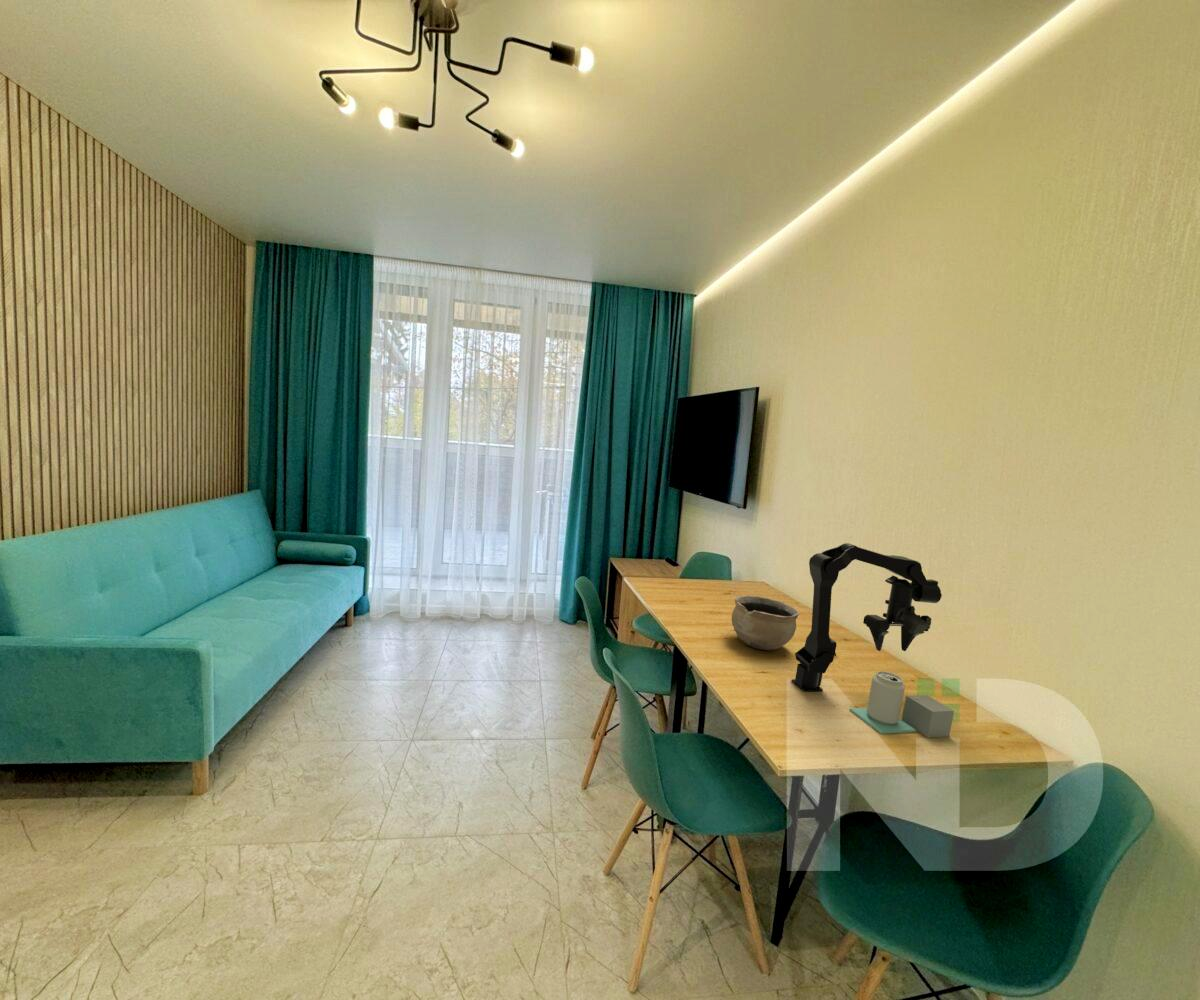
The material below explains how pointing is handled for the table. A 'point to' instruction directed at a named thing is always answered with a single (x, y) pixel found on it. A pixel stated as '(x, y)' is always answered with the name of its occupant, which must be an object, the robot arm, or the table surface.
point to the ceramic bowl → (763, 622)
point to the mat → (881, 728)
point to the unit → (927, 716)
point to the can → (885, 698)
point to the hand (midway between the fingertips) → (891, 650)
